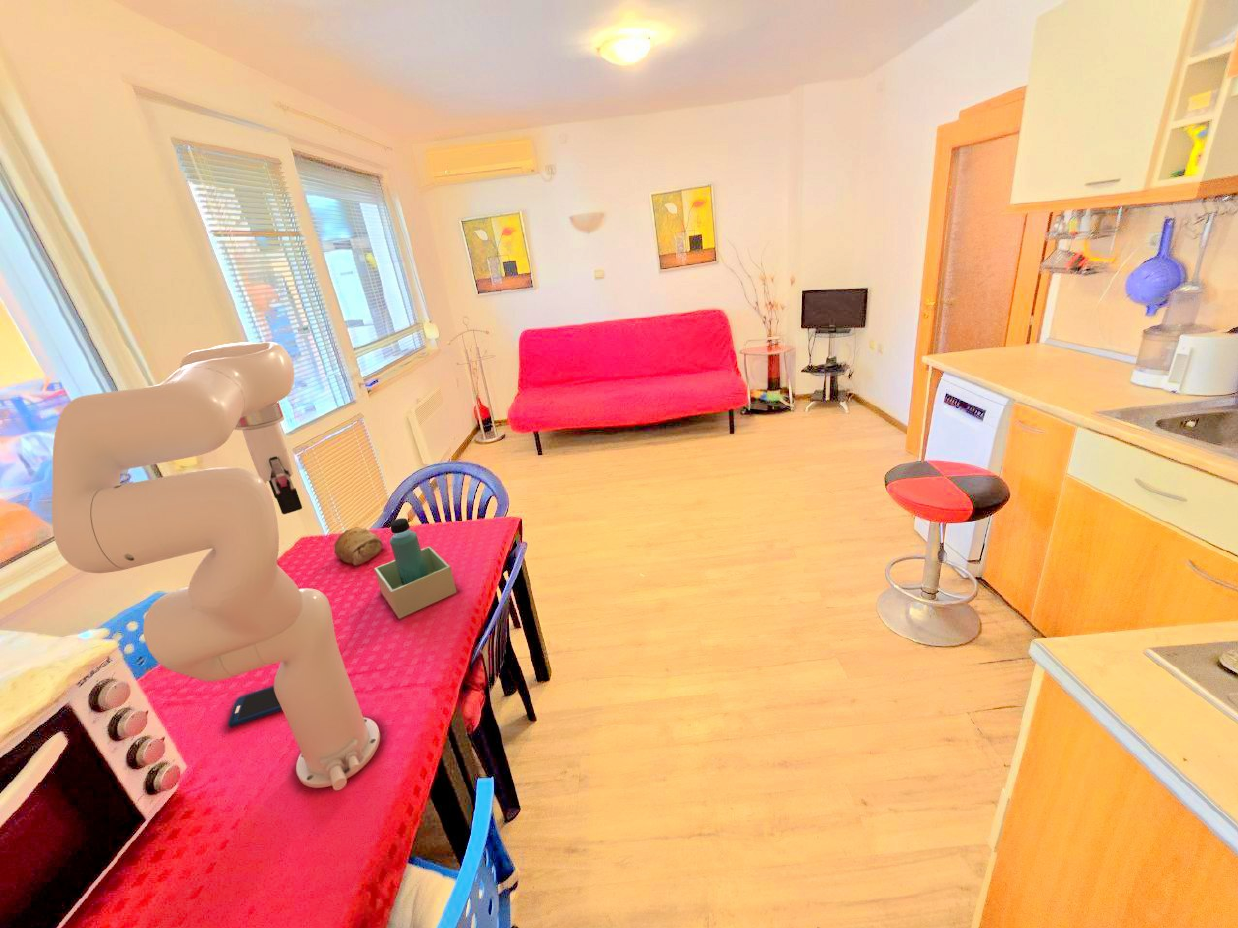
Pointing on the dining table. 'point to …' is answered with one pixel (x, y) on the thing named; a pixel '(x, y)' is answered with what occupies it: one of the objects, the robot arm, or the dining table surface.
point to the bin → (416, 584)
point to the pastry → (357, 546)
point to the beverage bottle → (407, 552)
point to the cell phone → (254, 706)
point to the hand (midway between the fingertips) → (288, 503)
